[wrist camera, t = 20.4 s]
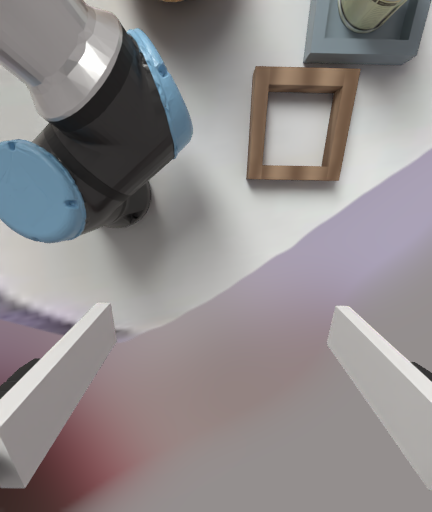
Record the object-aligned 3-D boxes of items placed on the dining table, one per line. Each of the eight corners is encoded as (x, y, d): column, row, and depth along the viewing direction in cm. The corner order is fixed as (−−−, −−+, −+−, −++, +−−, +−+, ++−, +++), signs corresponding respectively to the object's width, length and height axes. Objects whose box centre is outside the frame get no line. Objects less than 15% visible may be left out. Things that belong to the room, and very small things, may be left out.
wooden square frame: (246, 179, 44) (248, 178, 41) (252, 75, 38) (255, 66, 36) (330, 180, 44) (338, 180, 42) (350, 77, 39) (360, 68, 36)
